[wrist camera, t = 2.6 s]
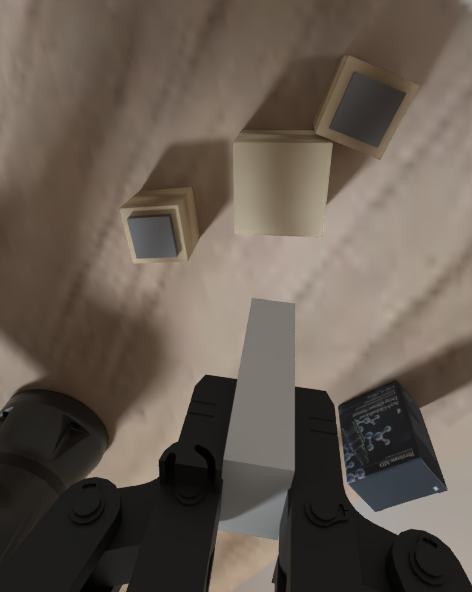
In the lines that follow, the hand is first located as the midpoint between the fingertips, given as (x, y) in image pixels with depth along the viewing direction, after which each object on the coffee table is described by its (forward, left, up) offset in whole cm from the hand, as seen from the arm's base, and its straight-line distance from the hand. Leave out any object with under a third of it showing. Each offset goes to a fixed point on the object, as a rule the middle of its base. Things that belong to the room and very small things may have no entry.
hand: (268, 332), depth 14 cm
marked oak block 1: (+5, +6, -24) cm, 25 cm away
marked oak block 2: (-10, -5, -24) cm, 27 cm away
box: (+15, -26, -24) cm, 39 cm away
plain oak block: (0, 0, -24) cm, 24 cm away
